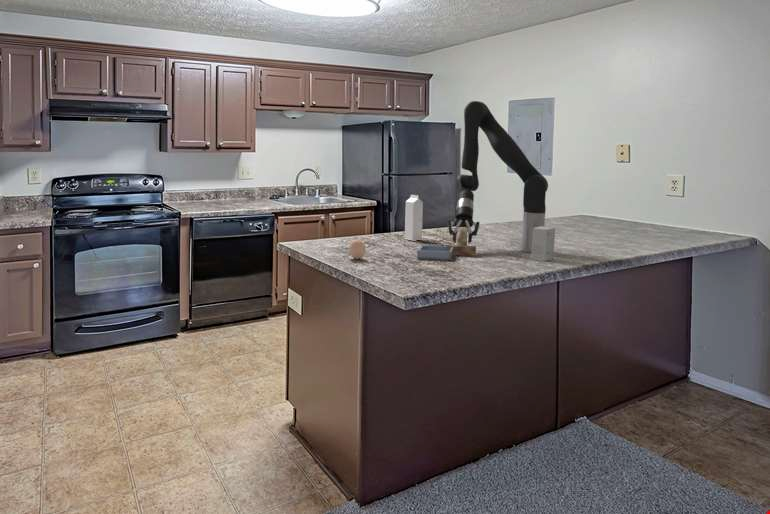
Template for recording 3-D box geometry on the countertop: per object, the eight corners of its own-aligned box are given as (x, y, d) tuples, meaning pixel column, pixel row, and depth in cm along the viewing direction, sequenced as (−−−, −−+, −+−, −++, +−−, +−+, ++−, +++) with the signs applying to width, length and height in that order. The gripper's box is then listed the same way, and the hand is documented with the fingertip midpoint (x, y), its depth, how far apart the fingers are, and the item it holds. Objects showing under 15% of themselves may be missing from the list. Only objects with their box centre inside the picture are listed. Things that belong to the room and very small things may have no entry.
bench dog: (475, 255, 238) (476, 245, 238) (475, 256, 236) (475, 247, 235) (447, 253, 241) (447, 244, 240) (446, 255, 238) (446, 245, 237)
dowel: (466, 252, 244) (467, 227, 242) (466, 254, 240) (467, 228, 238) (457, 252, 245) (458, 227, 243) (456, 253, 241) (457, 228, 239)
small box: (539, 256, 238) (541, 225, 235) (553, 258, 234) (555, 227, 231) (530, 259, 232) (532, 227, 229) (545, 261, 228) (547, 229, 225)
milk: (412, 241, 271) (413, 195, 267) (404, 240, 276) (405, 194, 271) (422, 240, 275) (423, 195, 270) (414, 239, 279) (415, 194, 275)
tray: (453, 254, 239) (453, 246, 238) (450, 260, 226) (451, 252, 225) (421, 253, 241) (421, 245, 241) (417, 258, 228) (417, 250, 228)
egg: (367, 260, 224) (367, 240, 222) (351, 261, 222) (351, 241, 221) (363, 257, 230) (363, 238, 229) (347, 257, 228) (347, 238, 227)
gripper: (448, 204, 248) (444, 235, 238) (481, 206, 245) (479, 237, 236) (448, 215, 254) (445, 246, 245) (481, 216, 251) (479, 247, 242)
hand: (462, 241), depth 240 cm, fingers open, 5 cm apart
